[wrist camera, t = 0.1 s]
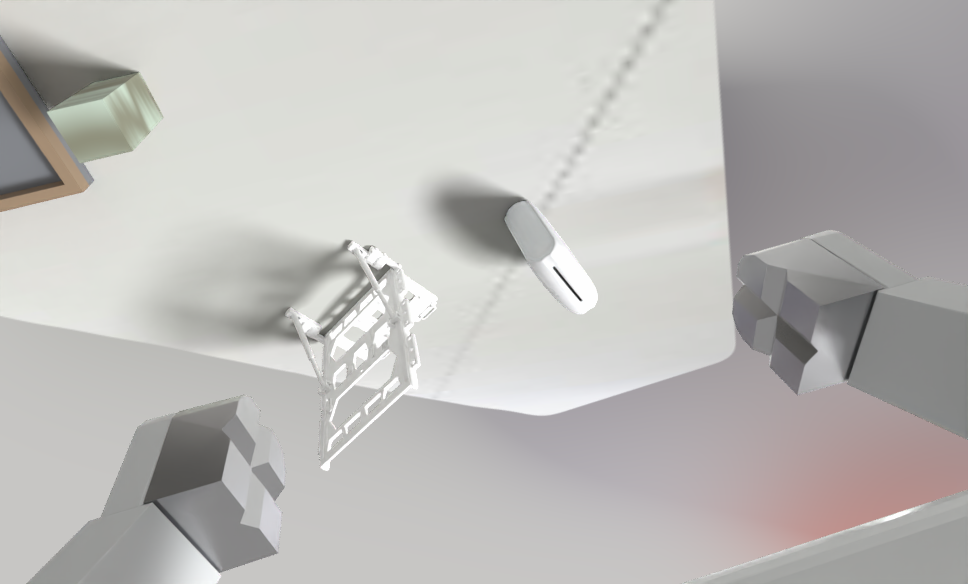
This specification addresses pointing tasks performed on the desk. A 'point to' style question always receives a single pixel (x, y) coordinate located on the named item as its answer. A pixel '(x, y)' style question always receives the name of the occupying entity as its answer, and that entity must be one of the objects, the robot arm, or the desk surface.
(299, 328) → the white perforated frame
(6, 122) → the keyhole dock
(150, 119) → the green peg
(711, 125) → the desk surface
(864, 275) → the robot arm
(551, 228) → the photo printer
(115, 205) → the desk surface
